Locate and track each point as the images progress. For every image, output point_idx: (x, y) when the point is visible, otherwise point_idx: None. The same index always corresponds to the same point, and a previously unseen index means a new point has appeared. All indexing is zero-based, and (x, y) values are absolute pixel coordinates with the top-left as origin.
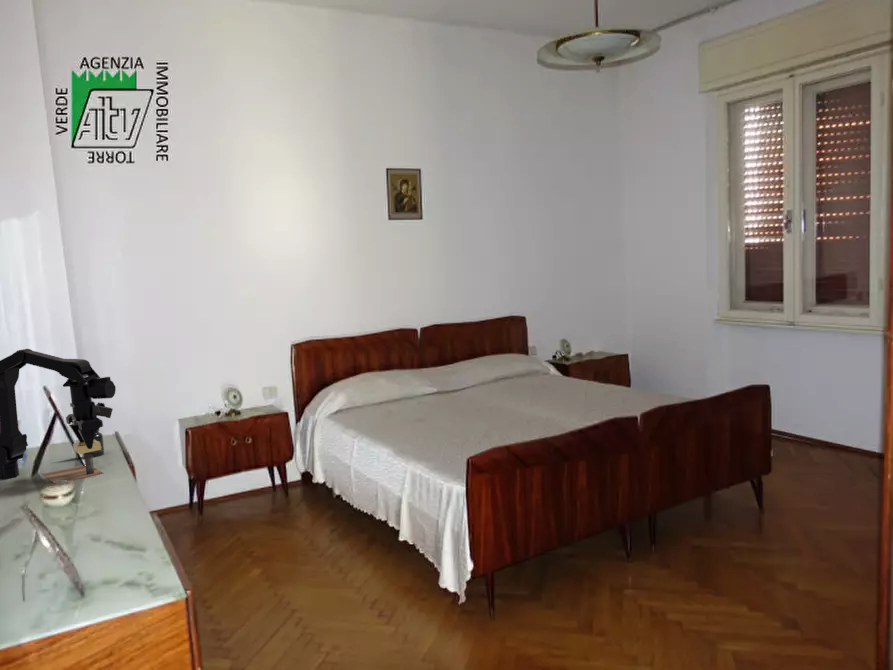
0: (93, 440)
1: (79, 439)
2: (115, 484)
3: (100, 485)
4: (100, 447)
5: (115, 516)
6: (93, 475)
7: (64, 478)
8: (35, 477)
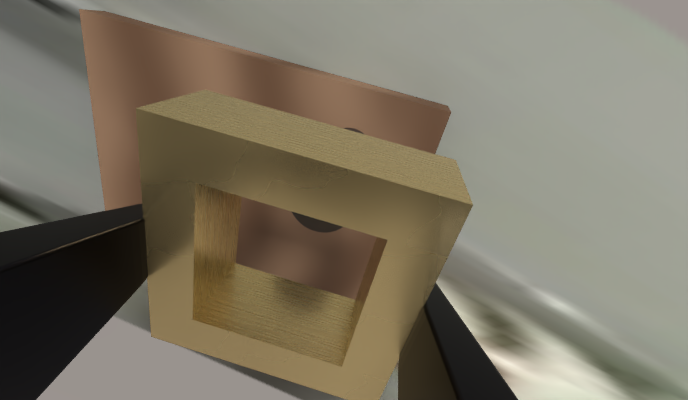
0: (201, 159)
1: (116, 310)
2: (671, 167)
3: (566, 210)
4: (459, 177)
5: None
6: None
7: (301, 257)
8: None
